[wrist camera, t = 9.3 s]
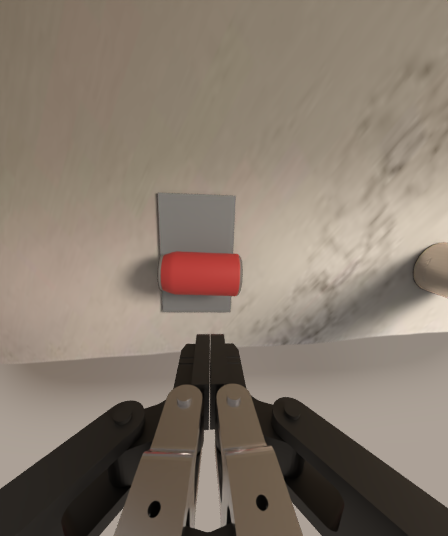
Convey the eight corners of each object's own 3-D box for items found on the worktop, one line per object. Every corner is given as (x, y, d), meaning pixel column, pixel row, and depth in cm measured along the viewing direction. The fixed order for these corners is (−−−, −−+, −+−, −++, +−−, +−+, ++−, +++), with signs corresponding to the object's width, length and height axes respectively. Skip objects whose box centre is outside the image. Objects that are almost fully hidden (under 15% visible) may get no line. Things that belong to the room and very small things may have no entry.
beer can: (243, 248, 30) (158, 245, 30) (243, 294, 29) (154, 292, 28) (236, 259, 37) (167, 256, 36) (236, 297, 36) (164, 295, 35)
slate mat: (235, 196, 33) (235, 195, 33) (230, 311, 39) (230, 312, 38) (158, 192, 33) (157, 192, 32) (163, 311, 38) (162, 312, 37)
